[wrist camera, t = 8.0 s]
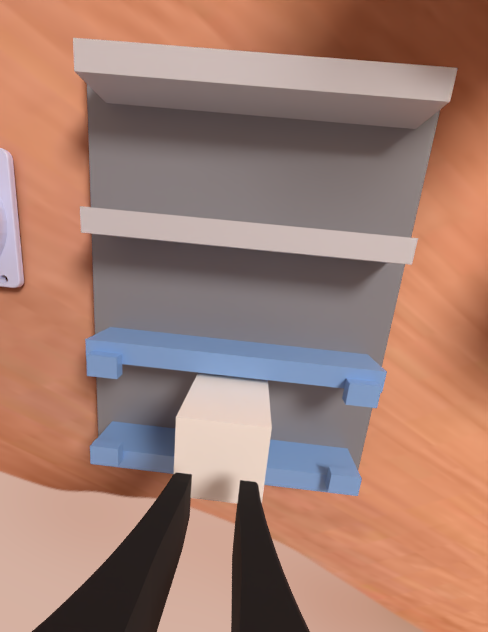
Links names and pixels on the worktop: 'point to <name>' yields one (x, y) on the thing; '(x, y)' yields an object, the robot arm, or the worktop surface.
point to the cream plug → (223, 435)
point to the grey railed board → (249, 240)
